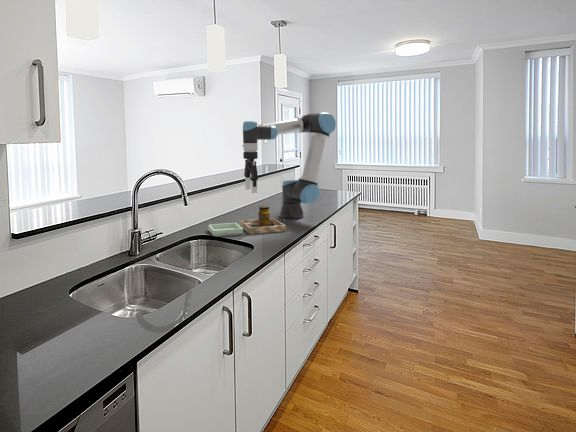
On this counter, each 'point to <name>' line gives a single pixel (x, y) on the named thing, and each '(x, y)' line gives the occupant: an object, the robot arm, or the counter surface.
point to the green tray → (225, 229)
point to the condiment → (264, 216)
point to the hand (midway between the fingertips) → (251, 191)
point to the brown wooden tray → (262, 229)
